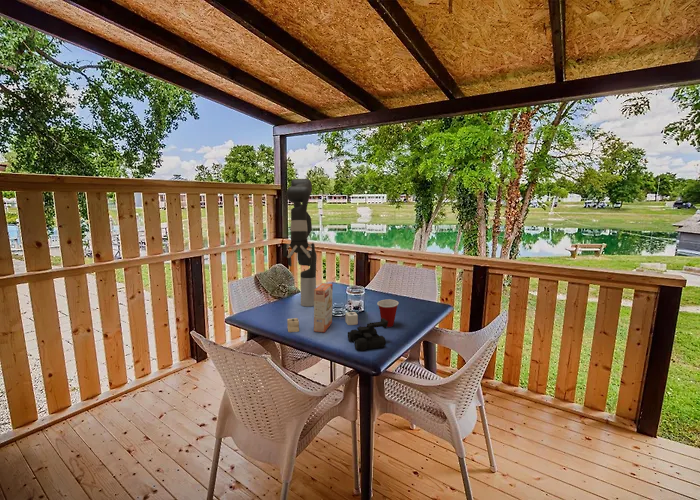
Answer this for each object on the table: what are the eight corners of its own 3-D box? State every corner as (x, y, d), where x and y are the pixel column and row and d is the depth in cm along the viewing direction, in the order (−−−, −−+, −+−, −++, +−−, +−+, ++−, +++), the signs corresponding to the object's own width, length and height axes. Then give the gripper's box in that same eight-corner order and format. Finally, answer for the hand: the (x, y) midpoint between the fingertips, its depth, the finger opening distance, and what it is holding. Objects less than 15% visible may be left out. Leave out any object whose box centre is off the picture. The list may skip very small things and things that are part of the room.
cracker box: (325, 333, 154) (325, 290, 151) (313, 331, 155) (313, 289, 152) (333, 322, 167) (333, 283, 164) (321, 321, 168) (321, 282, 165)
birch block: (287, 328, 159) (287, 318, 158) (297, 327, 160) (297, 317, 159) (288, 332, 154) (288, 322, 153) (298, 331, 155) (298, 321, 155)
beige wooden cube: (345, 321, 169) (345, 312, 168) (354, 321, 170) (354, 311, 169) (348, 325, 164) (348, 315, 163) (357, 324, 165) (357, 314, 165)
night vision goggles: (347, 339, 147) (347, 318, 146) (379, 335, 153) (379, 314, 151) (357, 352, 134) (358, 329, 133) (392, 347, 139) (393, 325, 138)
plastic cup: (372, 322, 168) (373, 300, 166) (391, 320, 172) (391, 298, 170) (383, 330, 158) (383, 306, 156) (402, 327, 162) (402, 304, 160)
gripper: (315, 230, 151) (316, 265, 152) (285, 231, 151) (285, 265, 151) (313, 230, 144) (314, 266, 144) (281, 230, 144) (282, 267, 144)
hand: (299, 266), depth 148 cm, fingers open, 8 cm apart
